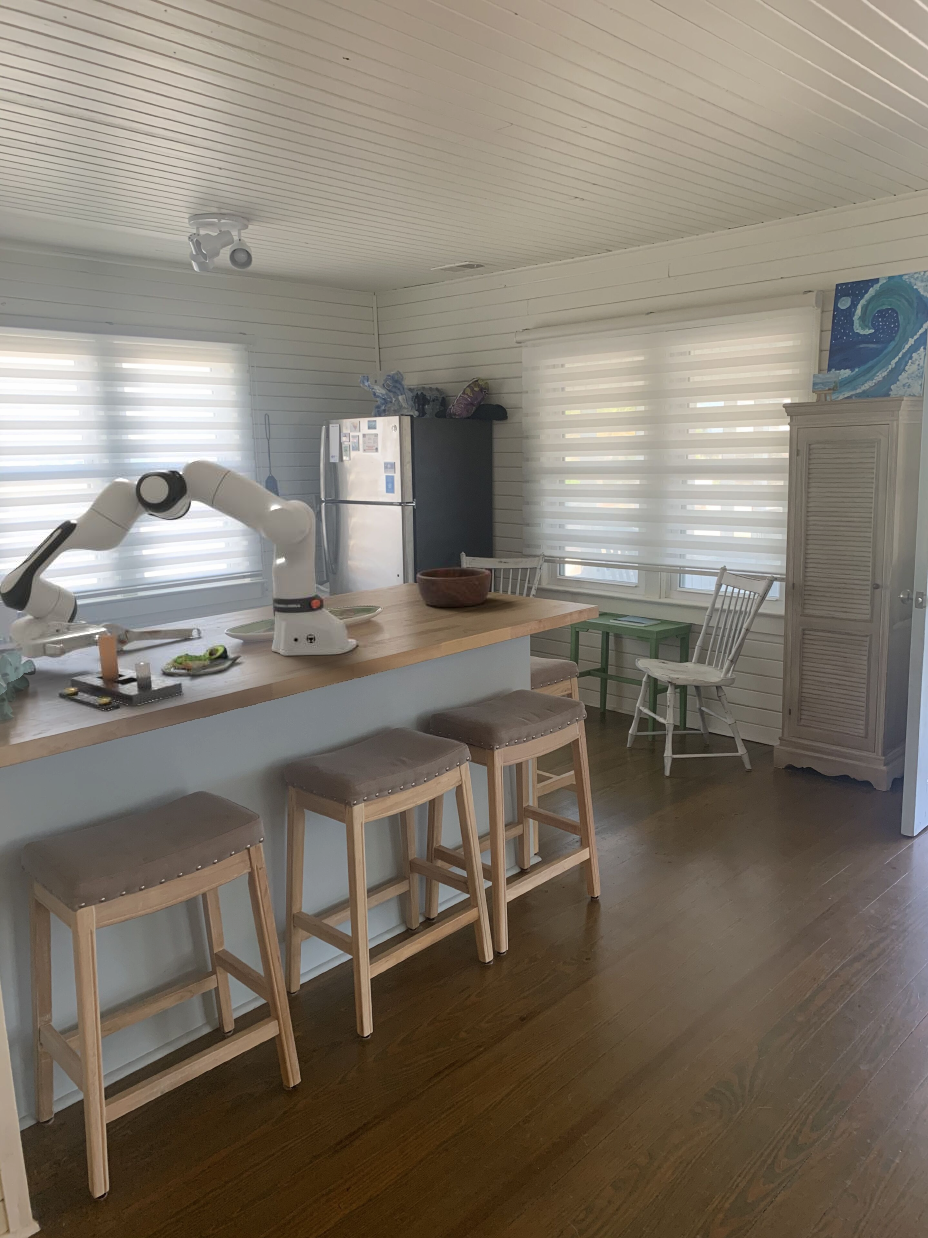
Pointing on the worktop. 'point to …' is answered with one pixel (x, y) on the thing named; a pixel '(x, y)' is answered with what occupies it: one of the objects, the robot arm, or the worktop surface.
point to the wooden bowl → (454, 586)
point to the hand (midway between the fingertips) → (81, 646)
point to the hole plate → (121, 688)
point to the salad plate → (201, 662)
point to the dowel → (108, 657)
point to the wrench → (146, 634)
